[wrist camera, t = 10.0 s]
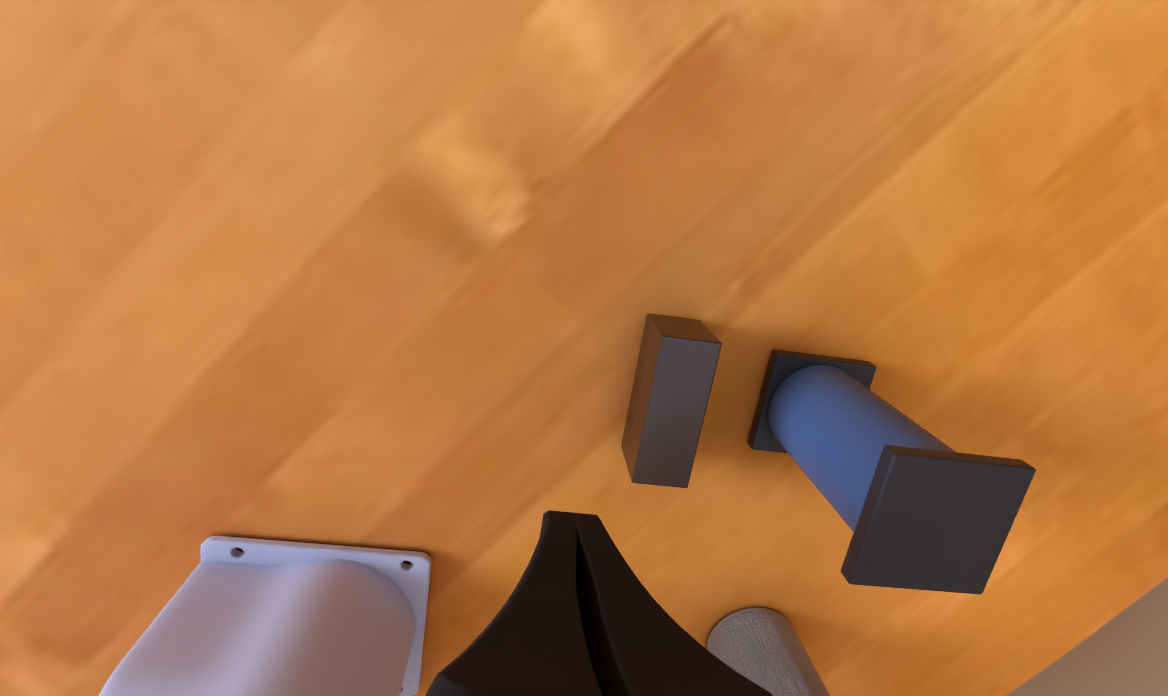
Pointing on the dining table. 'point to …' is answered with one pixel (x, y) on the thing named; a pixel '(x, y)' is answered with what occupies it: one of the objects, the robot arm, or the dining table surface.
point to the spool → (889, 477)
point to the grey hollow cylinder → (766, 652)
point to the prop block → (669, 400)
